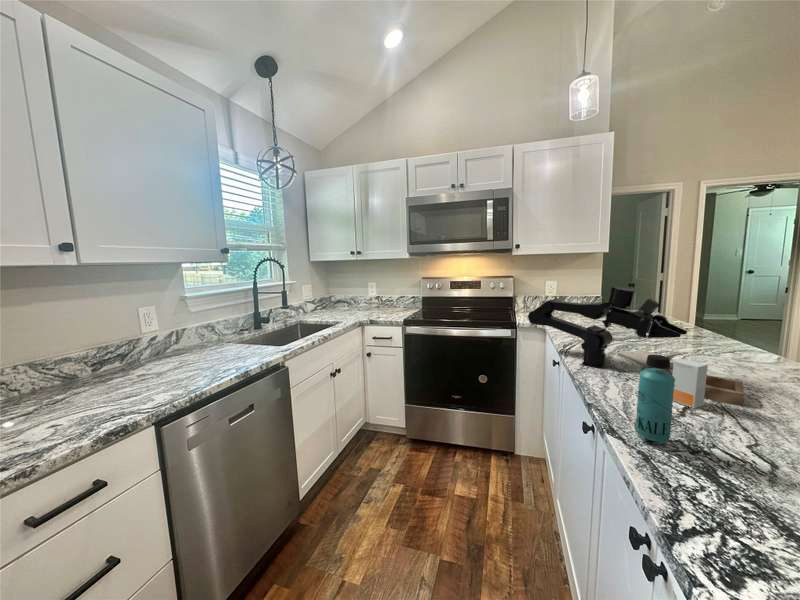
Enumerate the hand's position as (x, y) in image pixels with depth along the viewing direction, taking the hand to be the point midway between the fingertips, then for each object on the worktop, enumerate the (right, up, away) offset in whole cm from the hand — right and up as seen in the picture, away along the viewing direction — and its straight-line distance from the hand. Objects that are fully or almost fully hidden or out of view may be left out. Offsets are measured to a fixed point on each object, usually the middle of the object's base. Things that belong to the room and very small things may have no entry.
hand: (683, 334), depth 101 cm
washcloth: (+6, -14, +24) cm, 28 cm away
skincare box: (-9, -19, -11) cm, 23 cm away
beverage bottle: (-32, -22, -28) cm, 47 cm away
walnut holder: (+4, -17, -5) cm, 18 cm away
